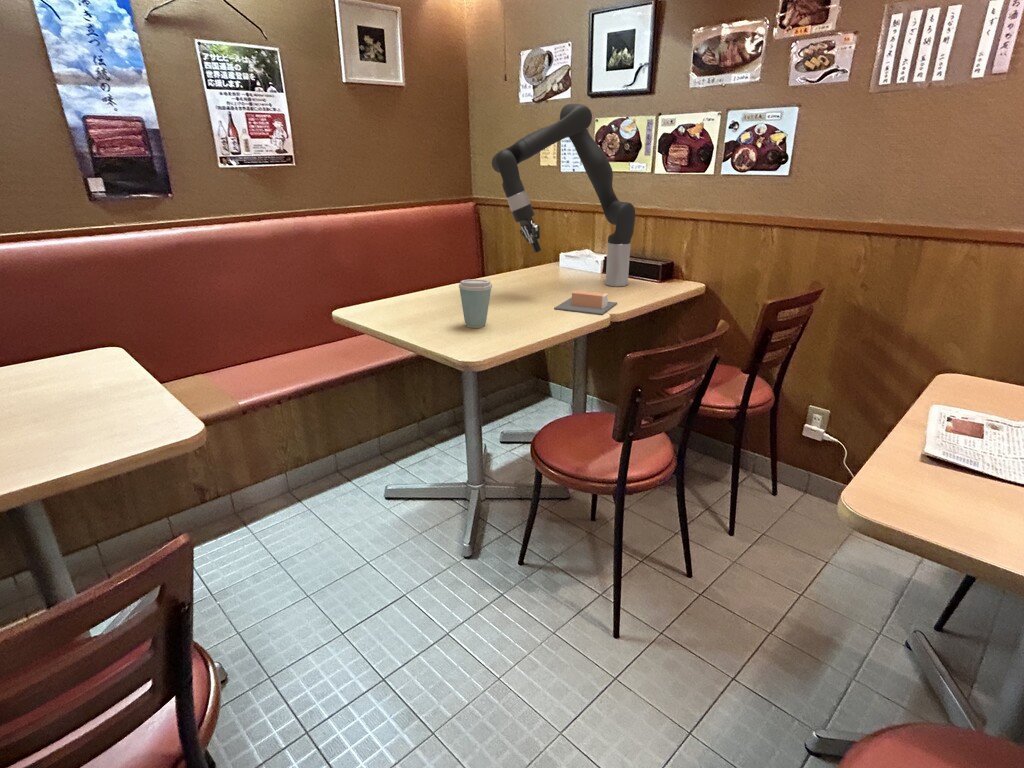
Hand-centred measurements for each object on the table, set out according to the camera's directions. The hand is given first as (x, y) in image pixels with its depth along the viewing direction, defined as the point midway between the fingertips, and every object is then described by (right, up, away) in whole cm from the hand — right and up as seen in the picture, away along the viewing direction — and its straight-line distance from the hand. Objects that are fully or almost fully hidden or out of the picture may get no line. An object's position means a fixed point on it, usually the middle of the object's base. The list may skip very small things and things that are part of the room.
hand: (538, 251), depth 218 cm
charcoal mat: (+17, -21, -4) cm, 27 cm away
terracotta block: (+13, -18, -4) cm, 22 cm away
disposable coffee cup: (-21, -30, -26) cm, 45 cm away
